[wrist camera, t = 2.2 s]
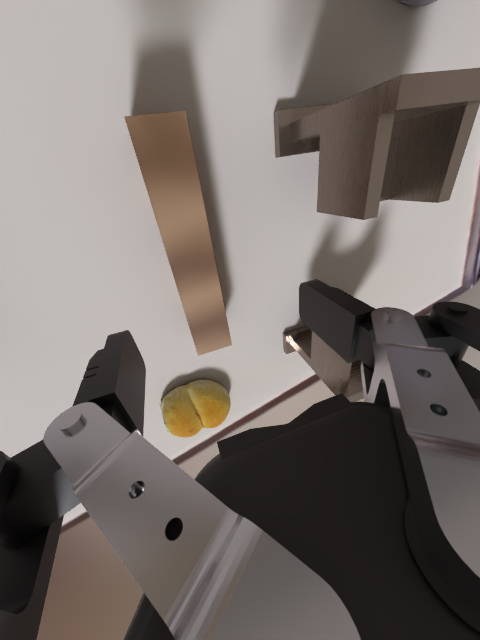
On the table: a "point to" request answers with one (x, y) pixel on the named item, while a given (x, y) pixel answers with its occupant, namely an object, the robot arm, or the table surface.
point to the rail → (182, 221)
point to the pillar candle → (417, 2)
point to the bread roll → (195, 407)
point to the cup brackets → (379, 167)
